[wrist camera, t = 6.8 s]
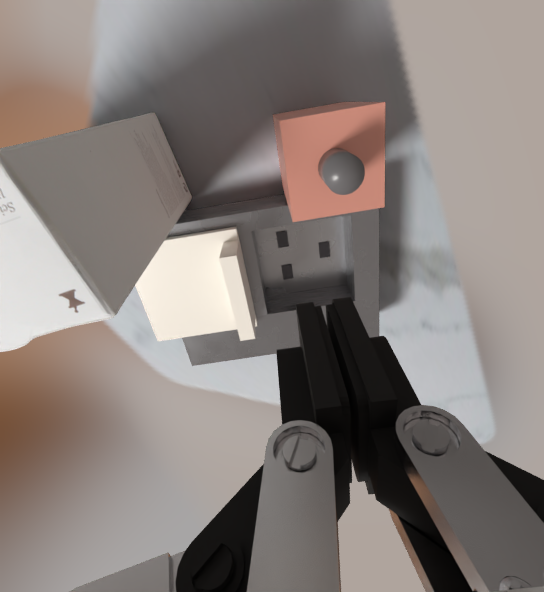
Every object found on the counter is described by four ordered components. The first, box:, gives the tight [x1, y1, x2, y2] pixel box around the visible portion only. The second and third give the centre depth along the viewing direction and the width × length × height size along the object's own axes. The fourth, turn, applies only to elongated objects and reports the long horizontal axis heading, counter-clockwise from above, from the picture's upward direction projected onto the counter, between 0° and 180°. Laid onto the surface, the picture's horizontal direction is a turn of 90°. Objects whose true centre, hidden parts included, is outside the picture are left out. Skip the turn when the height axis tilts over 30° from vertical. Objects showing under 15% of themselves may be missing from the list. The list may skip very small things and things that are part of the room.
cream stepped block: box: [135, 226, 257, 341], centre depth 23 cm, size 8×8×3 cm
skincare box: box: [0, 112, 192, 352], centre depth 17 cm, size 8×6×15 cm
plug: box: [273, 102, 385, 222], centre depth 18 cm, size 4×4×10 cm
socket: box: [166, 194, 379, 366], centre depth 26 cm, size 12×15×3 cm
